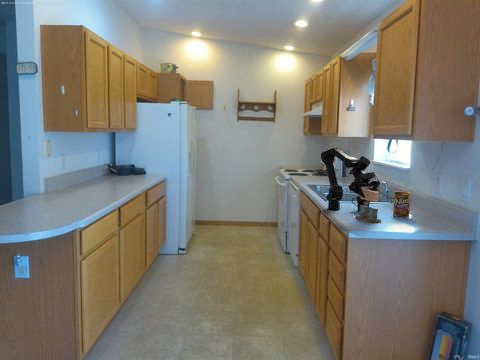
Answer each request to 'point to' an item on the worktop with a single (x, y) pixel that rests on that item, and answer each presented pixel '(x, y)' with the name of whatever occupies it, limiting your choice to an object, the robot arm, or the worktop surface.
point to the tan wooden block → (370, 195)
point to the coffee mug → (361, 202)
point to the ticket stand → (368, 214)
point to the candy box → (401, 204)
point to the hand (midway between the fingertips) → (370, 197)
